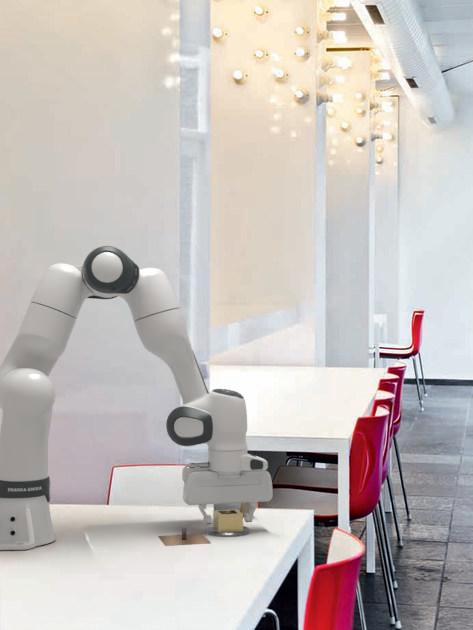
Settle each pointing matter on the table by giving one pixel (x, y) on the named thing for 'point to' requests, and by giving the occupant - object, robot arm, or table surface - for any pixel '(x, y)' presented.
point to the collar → (227, 521)
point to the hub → (213, 532)
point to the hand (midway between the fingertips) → (228, 522)
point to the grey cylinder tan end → (234, 507)
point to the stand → (184, 539)
